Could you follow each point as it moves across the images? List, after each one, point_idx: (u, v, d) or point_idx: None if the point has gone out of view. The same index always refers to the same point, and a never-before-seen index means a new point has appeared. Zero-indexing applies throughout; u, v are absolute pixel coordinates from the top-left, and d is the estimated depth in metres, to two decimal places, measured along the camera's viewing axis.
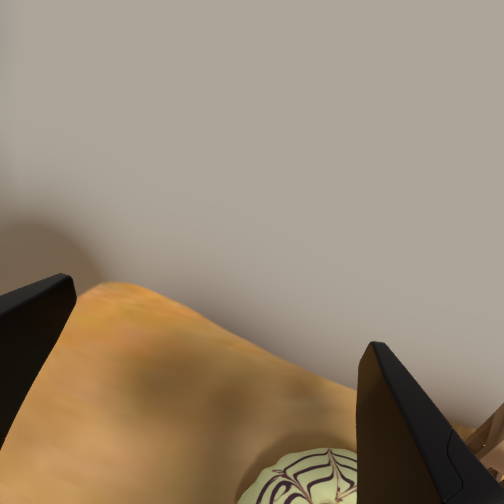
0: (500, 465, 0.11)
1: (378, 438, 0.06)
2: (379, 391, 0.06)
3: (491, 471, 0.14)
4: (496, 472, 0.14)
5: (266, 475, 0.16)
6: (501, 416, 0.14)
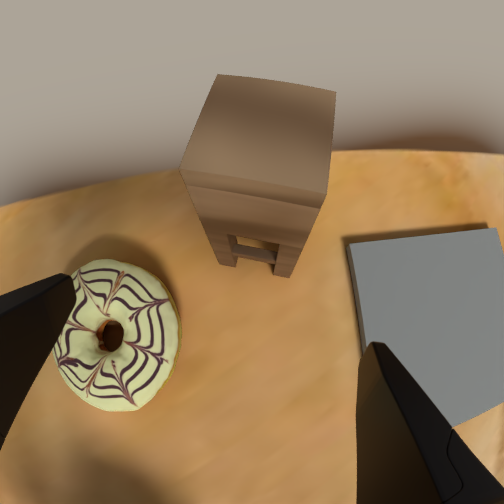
0: (235, 231, 0.16)
1: (378, 438, 0.06)
2: (379, 391, 0.06)
3: None
4: None
5: None
6: None
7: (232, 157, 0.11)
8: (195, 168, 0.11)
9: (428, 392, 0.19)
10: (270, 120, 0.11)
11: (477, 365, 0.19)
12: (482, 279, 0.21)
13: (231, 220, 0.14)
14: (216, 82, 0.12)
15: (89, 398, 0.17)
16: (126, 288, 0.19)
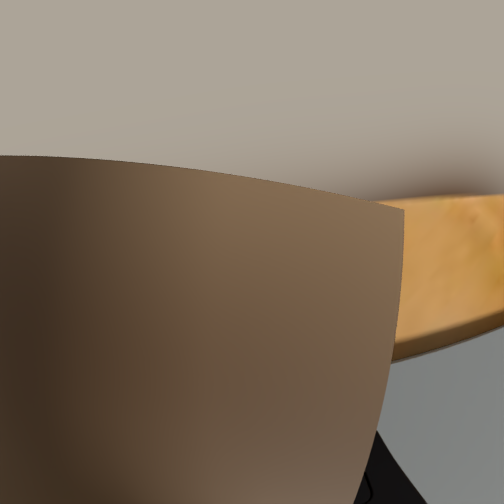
0: None
1: None
2: None
3: None
4: None
5: None
6: None
7: None
8: None
9: None
10: (96, 410, 0.02)
11: (500, 485, 0.10)
12: None
13: None
14: None
15: None
16: None
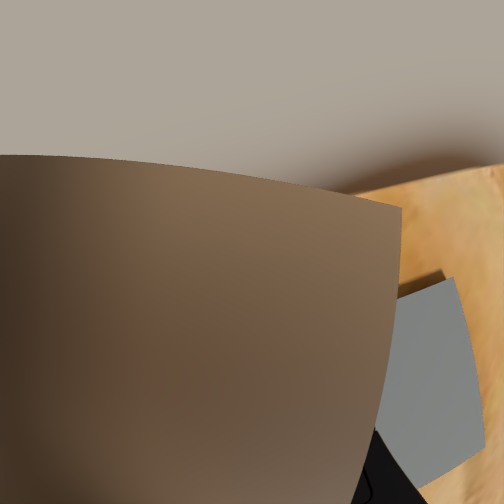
0: None
1: None
2: None
3: None
4: None
5: None
6: None
7: None
8: None
9: None
10: (94, 408, 0.02)
11: (427, 438, 0.17)
12: (432, 347, 0.20)
13: None
14: None
15: None
16: None
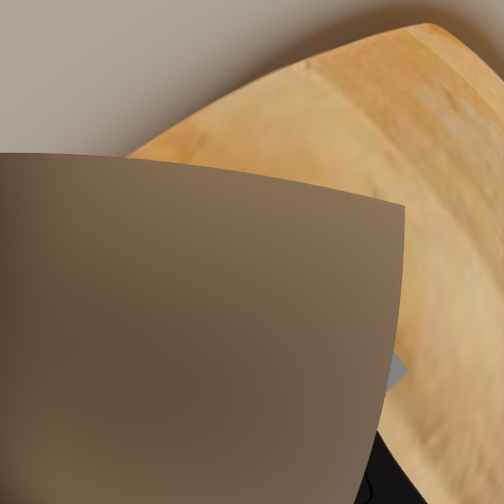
0: None
1: None
2: None
3: None
4: None
5: None
6: None
7: None
8: None
9: None
10: (96, 406, 0.02)
11: None
12: None
13: None
14: None
15: None
16: None
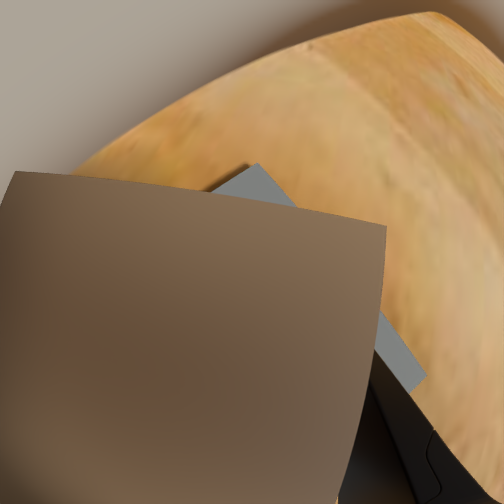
0: None
1: (358, 437, 0.06)
2: None
3: None
4: None
5: None
6: None
7: (41, 500, 0.02)
8: None
9: None
10: (119, 402, 0.03)
11: None
12: None
13: None
14: (4, 205, 0.03)
15: None
16: None
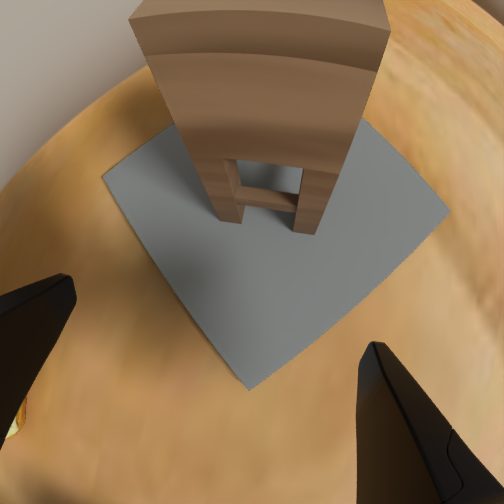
0: (234, 151, 0.10)
1: (378, 438, 0.06)
2: (379, 391, 0.06)
3: None
4: None
5: None
6: None
7: None
8: (155, 14, 0.05)
9: (276, 279, 0.16)
10: None
11: (342, 209, 0.17)
12: None
13: (226, 124, 0.08)
14: None
15: None
16: None
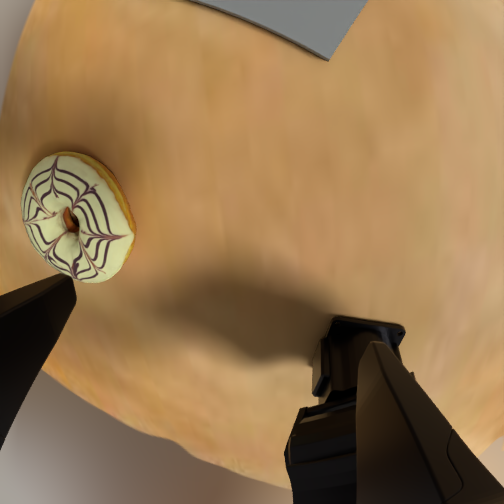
0: None
1: (378, 438, 0.06)
2: (379, 391, 0.06)
3: None
4: None
5: (51, 266, 0.22)
6: None
7: None
8: None
9: None
10: None
11: None
12: None
13: None
14: None
15: (106, 271, 0.21)
16: (37, 187, 0.18)
